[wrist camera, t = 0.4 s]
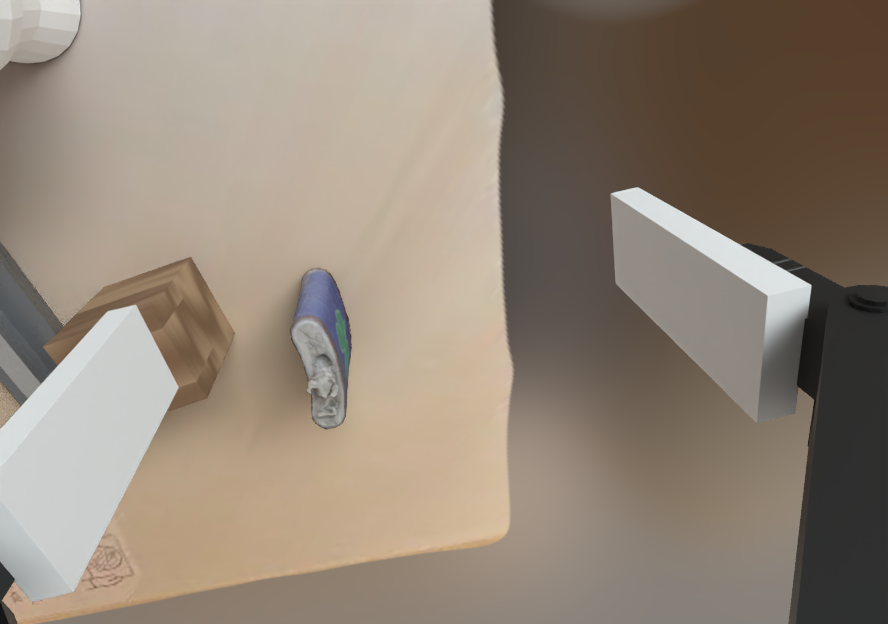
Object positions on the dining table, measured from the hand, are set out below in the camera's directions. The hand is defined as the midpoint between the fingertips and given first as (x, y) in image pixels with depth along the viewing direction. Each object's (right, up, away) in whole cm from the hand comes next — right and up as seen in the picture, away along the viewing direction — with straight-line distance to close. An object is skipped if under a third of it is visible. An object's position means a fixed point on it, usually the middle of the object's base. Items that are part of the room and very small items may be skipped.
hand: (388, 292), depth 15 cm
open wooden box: (-20, 0, +28) cm, 34 cm away
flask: (-8, -1, +30) cm, 31 cm away
